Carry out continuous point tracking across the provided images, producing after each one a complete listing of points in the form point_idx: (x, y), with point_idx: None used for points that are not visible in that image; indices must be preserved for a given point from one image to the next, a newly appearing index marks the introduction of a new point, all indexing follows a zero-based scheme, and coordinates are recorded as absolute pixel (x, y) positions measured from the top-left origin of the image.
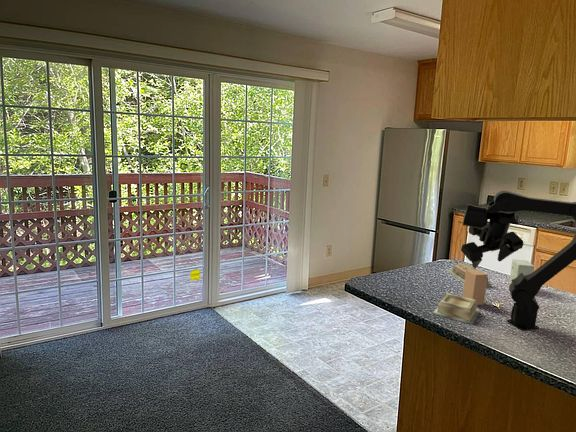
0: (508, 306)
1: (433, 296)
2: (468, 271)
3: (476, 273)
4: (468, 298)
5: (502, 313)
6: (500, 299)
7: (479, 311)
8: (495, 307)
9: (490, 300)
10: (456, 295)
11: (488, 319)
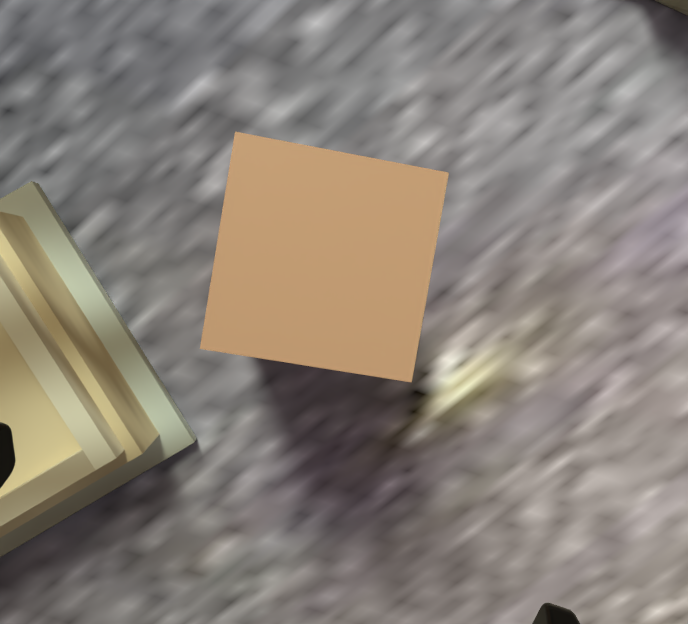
0: (524, 433)
1: (70, 38)
2: (232, 184)
3: (276, 296)
4: (75, 404)
5: (354, 516)
6: (594, 306)
7: (181, 448)
8: (404, 413)
9: (494, 292)
10: (16, 303)
11: (146, 562)
